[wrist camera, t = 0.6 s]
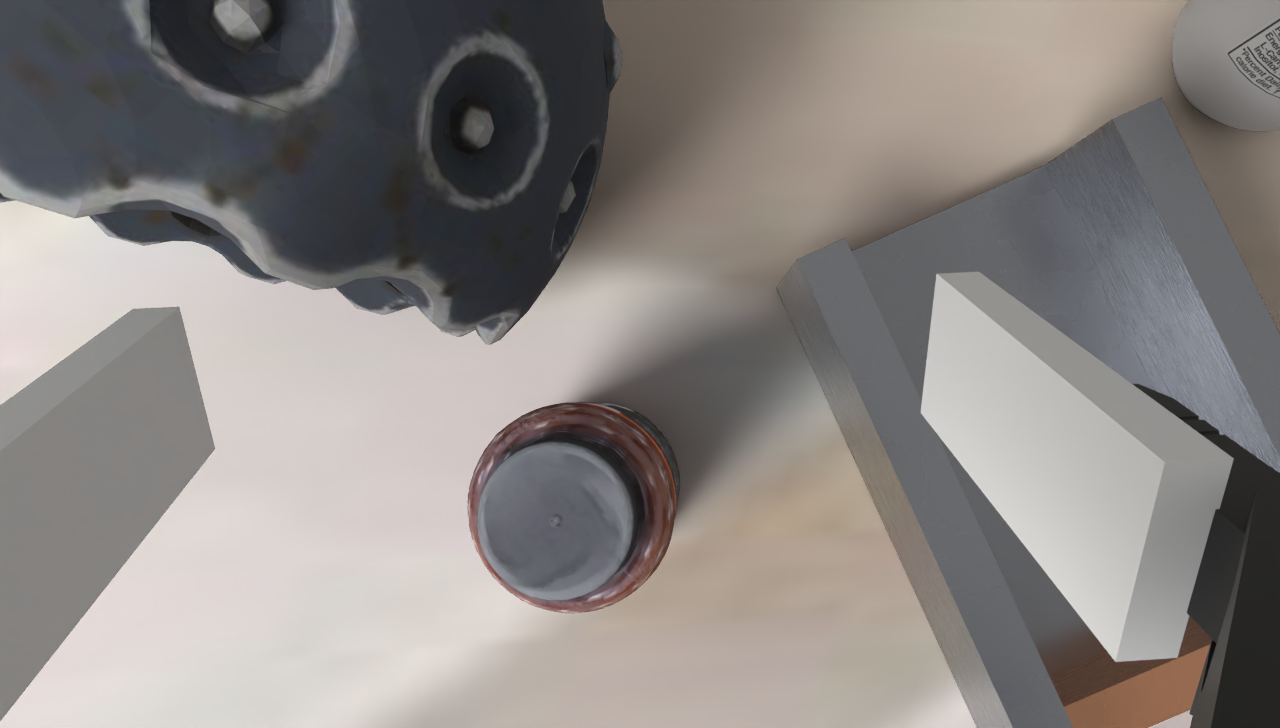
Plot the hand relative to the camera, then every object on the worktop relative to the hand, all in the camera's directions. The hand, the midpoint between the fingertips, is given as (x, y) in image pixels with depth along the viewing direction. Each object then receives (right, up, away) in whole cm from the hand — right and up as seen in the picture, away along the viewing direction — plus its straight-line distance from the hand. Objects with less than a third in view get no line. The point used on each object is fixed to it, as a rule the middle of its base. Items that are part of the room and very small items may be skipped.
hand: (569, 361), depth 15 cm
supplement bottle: (0, -5, +18) cm, 18 cm away
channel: (+15, -3, +17) cm, 23 cm away
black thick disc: (-9, +7, +19) cm, 22 cm away
